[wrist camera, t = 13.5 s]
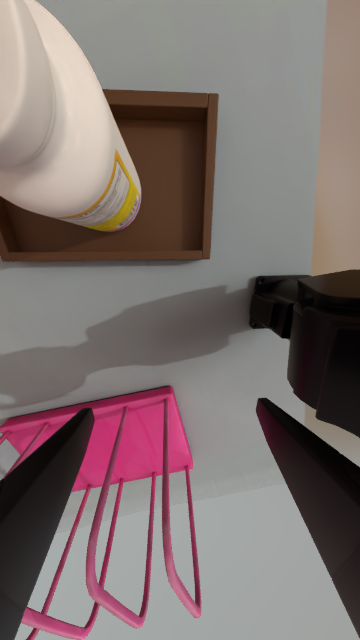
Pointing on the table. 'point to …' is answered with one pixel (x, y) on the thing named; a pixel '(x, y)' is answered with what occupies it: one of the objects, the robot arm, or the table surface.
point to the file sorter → (117, 467)
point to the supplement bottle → (59, 127)
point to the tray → (156, 188)
